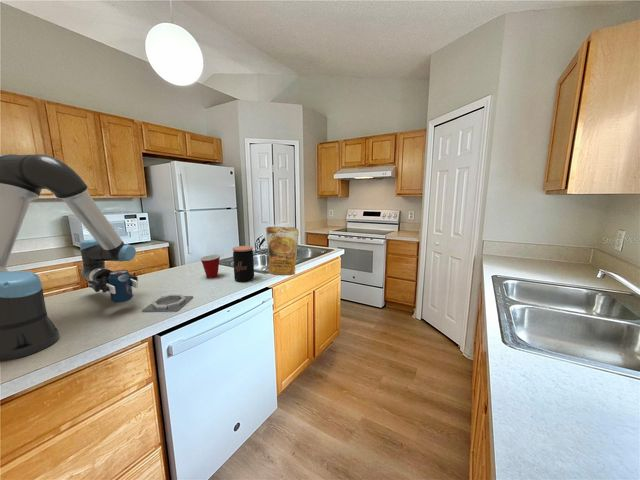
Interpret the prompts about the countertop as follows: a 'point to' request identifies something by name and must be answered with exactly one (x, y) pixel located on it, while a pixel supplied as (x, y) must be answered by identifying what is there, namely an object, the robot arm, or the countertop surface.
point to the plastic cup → (211, 265)
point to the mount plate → (168, 303)
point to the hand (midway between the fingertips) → (125, 287)
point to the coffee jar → (243, 263)
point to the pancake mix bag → (282, 249)
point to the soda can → (121, 286)
